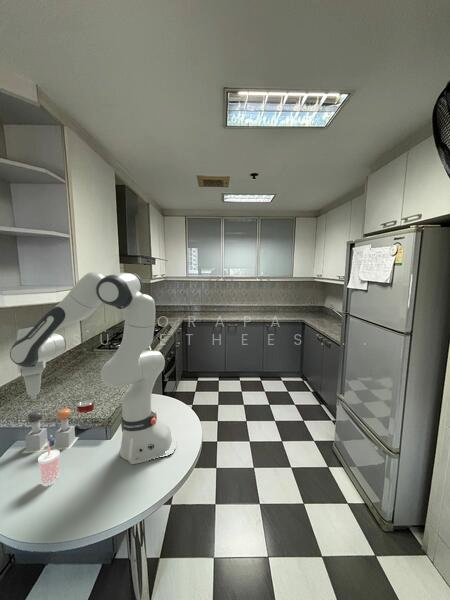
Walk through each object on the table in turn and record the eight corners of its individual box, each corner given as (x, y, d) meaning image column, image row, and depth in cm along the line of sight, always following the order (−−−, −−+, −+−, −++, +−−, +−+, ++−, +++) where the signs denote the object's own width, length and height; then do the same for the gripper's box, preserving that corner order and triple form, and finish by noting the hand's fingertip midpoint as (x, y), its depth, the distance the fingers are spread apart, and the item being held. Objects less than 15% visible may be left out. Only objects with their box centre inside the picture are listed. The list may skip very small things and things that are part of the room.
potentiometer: (56, 442, 104) (55, 433, 104) (52, 446, 101) (52, 436, 101) (50, 443, 103) (49, 434, 103) (46, 446, 101) (46, 437, 101)
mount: (79, 439, 108) (78, 423, 107) (69, 451, 100) (69, 434, 99) (34, 443, 105) (33, 427, 105) (21, 455, 97) (20, 438, 97)
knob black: (45, 431, 104) (44, 410, 104) (39, 438, 100) (37, 415, 99) (33, 433, 103) (32, 411, 103) (26, 439, 99) (25, 416, 98)
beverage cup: (44, 476, 86) (42, 437, 86) (64, 472, 88) (62, 434, 87) (35, 489, 80) (33, 448, 80) (56, 485, 82) (54, 445, 81)
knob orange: (73, 429, 105) (72, 408, 105) (68, 435, 101) (67, 413, 101) (62, 430, 105) (60, 408, 104) (56, 436, 100) (54, 414, 100)
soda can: (87, 433, 112) (86, 407, 112) (73, 431, 114) (72, 406, 113) (98, 424, 119) (97, 400, 119) (85, 423, 121) (84, 399, 120)
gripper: (22, 360, 106) (24, 391, 107) (21, 373, 90) (23, 410, 91) (40, 357, 110) (42, 388, 111) (42, 369, 94) (44, 404, 95)
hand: (33, 398), depth 101 cm, fingers closed
